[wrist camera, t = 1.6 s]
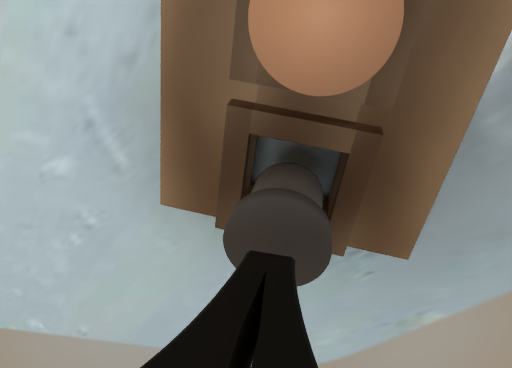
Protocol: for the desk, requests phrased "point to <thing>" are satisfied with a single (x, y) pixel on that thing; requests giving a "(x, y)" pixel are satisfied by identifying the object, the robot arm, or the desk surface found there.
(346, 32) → the terracotta plug
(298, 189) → the grey plug
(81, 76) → the desk surface
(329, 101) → the walnut test board
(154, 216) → the desk surface
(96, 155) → the desk surface
